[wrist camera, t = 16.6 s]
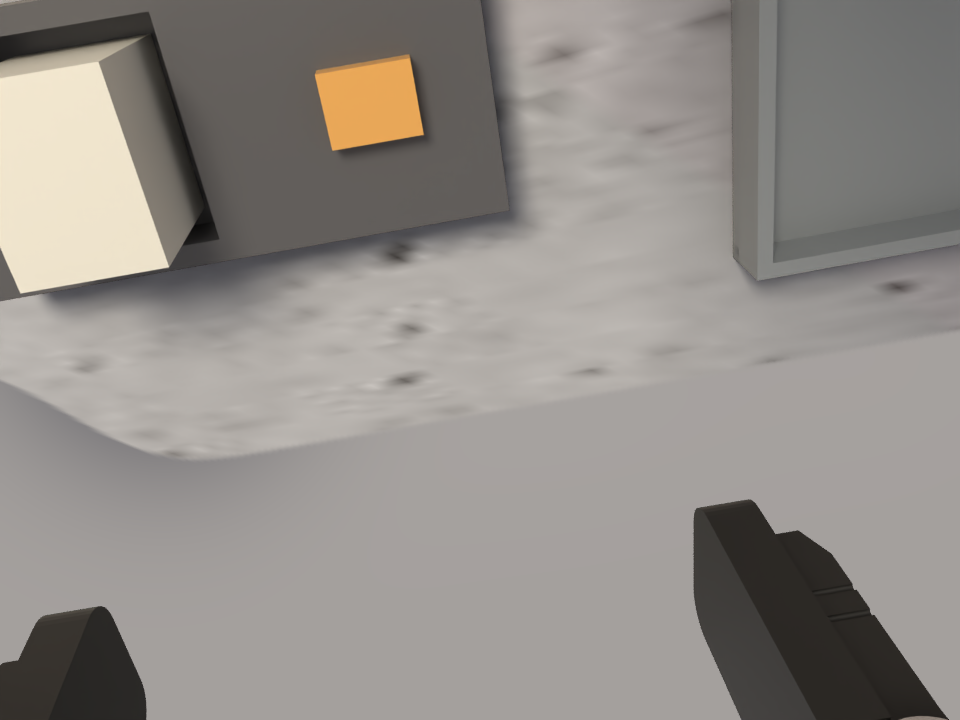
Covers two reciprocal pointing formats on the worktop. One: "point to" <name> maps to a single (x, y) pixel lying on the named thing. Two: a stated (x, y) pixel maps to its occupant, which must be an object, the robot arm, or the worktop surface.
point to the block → (91, 165)
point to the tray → (843, 131)
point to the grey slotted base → (303, 113)
